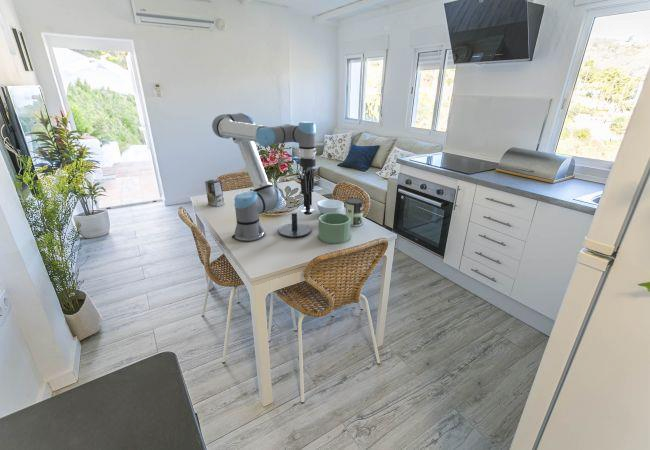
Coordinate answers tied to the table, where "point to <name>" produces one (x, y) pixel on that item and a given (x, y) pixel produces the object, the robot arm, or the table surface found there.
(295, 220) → the lid
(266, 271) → the table surface
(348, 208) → the coffee can
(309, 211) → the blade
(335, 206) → the cereal bowl
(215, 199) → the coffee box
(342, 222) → the bowl chamber
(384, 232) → the table surface
